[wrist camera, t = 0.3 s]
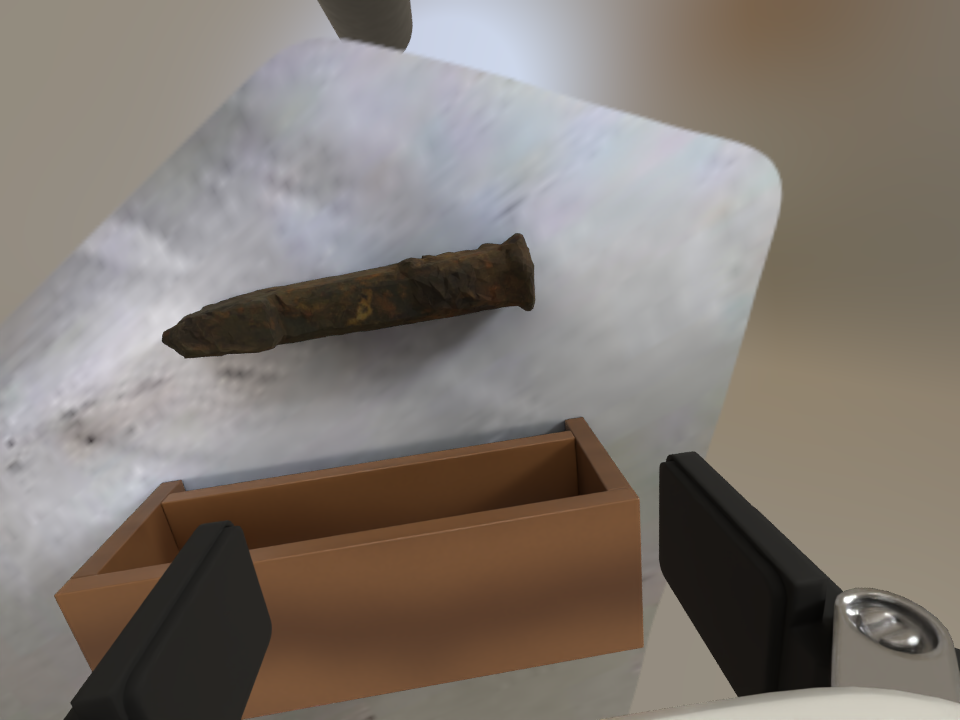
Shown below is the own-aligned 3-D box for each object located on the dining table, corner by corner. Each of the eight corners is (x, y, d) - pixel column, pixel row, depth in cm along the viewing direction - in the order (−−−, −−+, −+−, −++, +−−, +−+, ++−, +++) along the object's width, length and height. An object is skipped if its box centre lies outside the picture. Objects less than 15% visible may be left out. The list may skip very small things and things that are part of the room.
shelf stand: (161, 482, 30) (52, 595, 21) (583, 416, 31) (640, 498, 22) (206, 599, 33) (126, 741, 24) (590, 535, 34) (644, 648, 25)
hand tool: (521, 229, 27) (538, 235, 23) (527, 301, 28) (544, 319, 24) (170, 274, 26) (117, 288, 22) (192, 346, 27) (146, 373, 23)
